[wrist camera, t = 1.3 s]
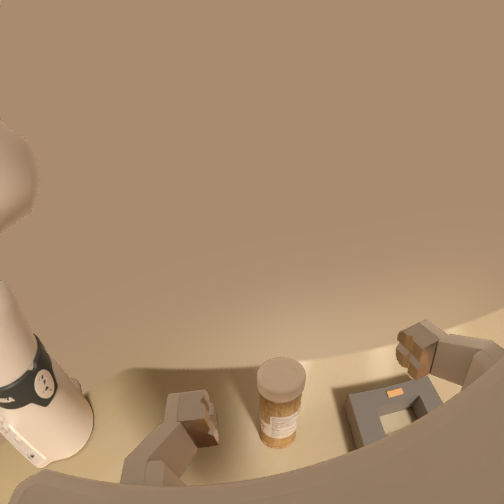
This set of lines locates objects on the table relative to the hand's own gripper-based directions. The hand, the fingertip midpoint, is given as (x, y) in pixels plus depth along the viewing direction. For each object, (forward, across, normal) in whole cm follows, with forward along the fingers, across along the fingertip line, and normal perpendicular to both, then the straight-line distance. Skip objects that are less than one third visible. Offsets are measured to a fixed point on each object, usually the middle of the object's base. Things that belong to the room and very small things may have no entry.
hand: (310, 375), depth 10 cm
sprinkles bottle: (+13, +2, +23) cm, 26 cm away
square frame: (+8, -14, +25) cm, 30 cm away
